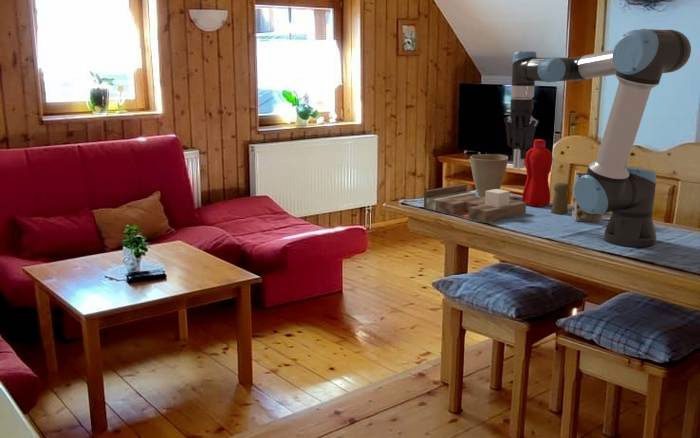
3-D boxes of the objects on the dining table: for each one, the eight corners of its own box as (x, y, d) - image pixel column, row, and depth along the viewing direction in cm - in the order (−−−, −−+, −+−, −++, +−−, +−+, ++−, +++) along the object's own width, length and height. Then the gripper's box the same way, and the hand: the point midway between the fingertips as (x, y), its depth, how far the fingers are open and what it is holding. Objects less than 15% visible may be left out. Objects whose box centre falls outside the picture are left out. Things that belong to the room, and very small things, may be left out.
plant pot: (462, 193, 293) (463, 155, 289) (494, 191, 297) (496, 153, 294) (479, 200, 279) (481, 160, 275) (513, 198, 283) (515, 158, 280)
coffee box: (575, 221, 246) (578, 175, 242) (571, 217, 252) (574, 172, 249) (602, 222, 245) (606, 176, 242) (597, 217, 251) (601, 173, 248)
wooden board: (525, 213, 258) (526, 196, 256) (485, 222, 244) (486, 204, 243) (463, 200, 280) (463, 183, 279) (423, 207, 267) (424, 190, 265)
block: (508, 205, 253) (509, 191, 252) (498, 207, 249) (498, 193, 248) (495, 202, 258) (496, 188, 256) (484, 204, 254) (485, 190, 253)
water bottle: (556, 205, 272) (561, 139, 266) (534, 208, 267) (538, 141, 261) (540, 200, 280) (544, 137, 274) (518, 203, 275) (522, 138, 269)
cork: (571, 213, 258) (573, 183, 255) (557, 215, 255) (560, 185, 253) (561, 210, 263) (563, 181, 261) (547, 211, 261) (549, 182, 258)
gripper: (546, 99, 235) (542, 169, 241) (512, 96, 246) (508, 164, 251) (532, 100, 231) (528, 171, 236) (498, 97, 241) (495, 166, 247)
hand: (518, 167), depth 244 cm, fingers closed
